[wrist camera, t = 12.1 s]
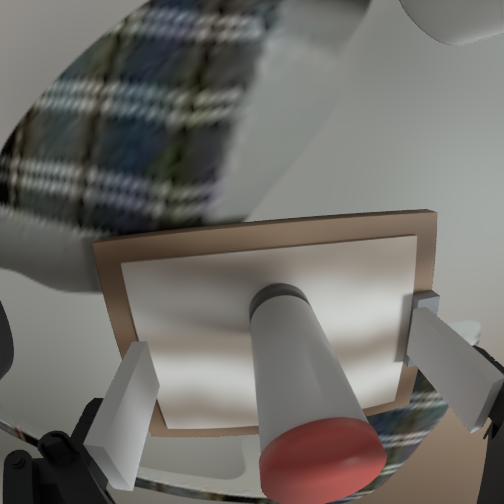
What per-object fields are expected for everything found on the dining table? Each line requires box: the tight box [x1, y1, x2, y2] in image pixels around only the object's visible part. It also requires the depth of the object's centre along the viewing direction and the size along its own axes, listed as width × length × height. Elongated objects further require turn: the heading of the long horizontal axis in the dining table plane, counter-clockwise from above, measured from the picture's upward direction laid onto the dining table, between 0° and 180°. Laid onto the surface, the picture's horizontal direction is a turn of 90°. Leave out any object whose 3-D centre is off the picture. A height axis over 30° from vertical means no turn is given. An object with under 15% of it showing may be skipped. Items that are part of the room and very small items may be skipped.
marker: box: [249, 283, 386, 504], centre depth 14 cm, size 4×4×13 cm
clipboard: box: [92, 209, 440, 437], centre depth 22 cm, size 18×24×3 cm
